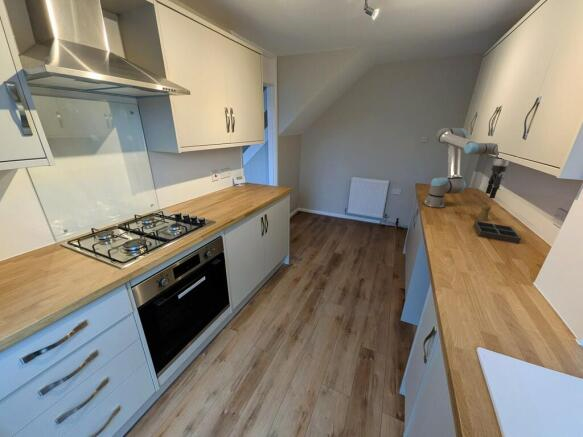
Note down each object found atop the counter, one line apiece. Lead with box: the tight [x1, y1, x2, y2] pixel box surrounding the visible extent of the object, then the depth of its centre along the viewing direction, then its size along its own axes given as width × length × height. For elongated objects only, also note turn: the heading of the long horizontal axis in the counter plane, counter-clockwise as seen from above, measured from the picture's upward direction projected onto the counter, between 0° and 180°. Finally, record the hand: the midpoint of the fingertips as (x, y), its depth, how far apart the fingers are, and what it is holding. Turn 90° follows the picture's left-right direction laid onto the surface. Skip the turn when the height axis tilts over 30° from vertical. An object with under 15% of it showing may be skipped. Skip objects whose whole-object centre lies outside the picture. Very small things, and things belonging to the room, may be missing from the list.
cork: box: [476, 204, 492, 222], centre depth 173 cm, size 6×6×11 cm
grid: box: [473, 220, 522, 245], centre depth 151 cm, size 19×19×4 cm
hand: (489, 195), depth 167 cm, fingers open, 13 cm apart
